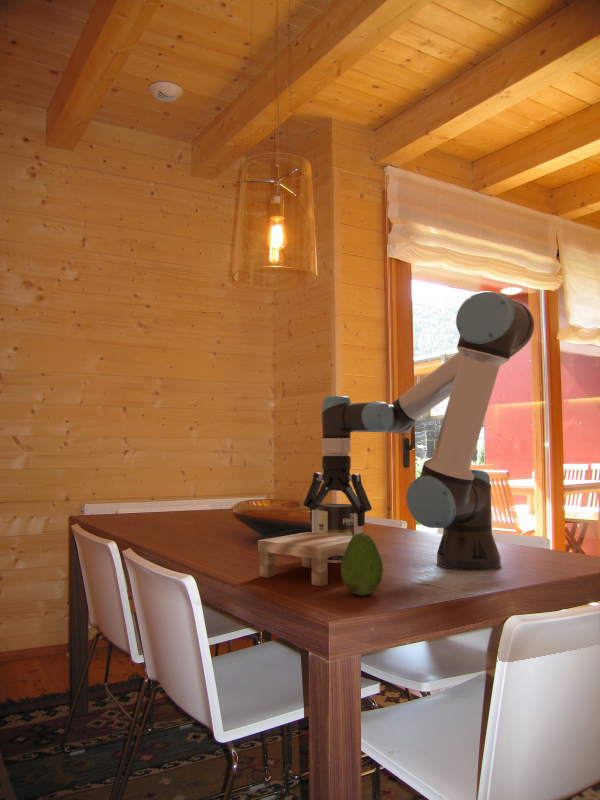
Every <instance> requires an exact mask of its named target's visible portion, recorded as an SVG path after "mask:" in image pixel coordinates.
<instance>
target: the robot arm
mask: <svg viewBox="0 0 600 800" xmlns="http://www.w3.org/2000/svg"><path fill="white" fill-rule="evenodd" d="M455 326H456V329H457V331H458V334H459V337H458V341H457V345H456V349H457V350H458V352H456V353H455V354H454V355H453V356H452V357H450V358H448V360H446V361H445V362H444V363H442V364H441V365H439V366H438V367H437V368H436V369H435V370H433V371H432V372H431V373H429V374H428V375H426V377H424V378H423V379H422V380H420V381H419V382H417V383H416V384H415V385H413V386H412V387H410V388H409V390H407V391H406V392H405V393H403V394H402V395H400V396H399V397H398V398H397V399H395V400H394V401H393V402H391V403H390V404H389V403H387V402H385V401H368V402H356V403H353V402H351V398H350V397H349V396H347V395H331V396H330V395H329V396H325V397H324V398H323V400H322V407H321V408H322V409H321V423H322V424H321V425H322V439H321V453H322V454H324V455H323V456H322V458H321V468H322V470H323V473H322V472H320V471H319V472H314V473H313V474H312V482H311V484H310V486H309V489H308V491H307V493H306V494H307V495H306V496H305V499H304V502H303V506H304V507H307V508H308V509H309V520H310V522H311V532H312V533H318V505H322V502H323V501H324V500H325V498H326V496H328V494H329V492H331V491H335V492H336V491H338V492H342V493H343V494H344V496H345V497H346V498H347V500H348V501H349V504H352V506H353V507H354V509H355V510H356V513H354V535H356V534H358V533H363V527H364V526H365V525H366V521H365V519H366V516H365V515H366V513H367V512H369V511H372V506H371V505H372V504H371V502H370V500H369V497H368V496H367V493H366V491H365V489H364V486H363V483H362V476H361V474H360V473H353V474H351V469H352V466H351V465H352V464H351V463H352V462H351V461H352V459H351V458H352V457H351V455H349V454H351V445H352V444H351V435H352V433H354V432H355V433H356V432H357V433H387V434H388V433H391V434H403V433H407V432H409V431H411V430H412V429H413V428H414V426H415V424H416V421H417V420H418V419H420V418H421V417H422V416H424V415H425V414H426V413H428V412H430V411H431V410H432V409H434V408H435V407H436V406H438V405H440V404H441V403H442V402H444V400H446V399H447V398H448V402H447V405H446V409H445V413H444V416H443V419H442V423H441V425H440V426H441V427H440V430H439V434H438V436H437V440H436V443H435V448H434V450H433V454H432V457H431V458H429V459H427V460H425V461H424V462H423V465H422V468H421V472H420V475H419V476H418V477H417V478H415V479H414V480H413V481H411V483H410V484H409V486H408V488H407V489H406V497H405V498H406V499H405V500H406V507H407V508H408V510H409V513H410V515H411V516H412V518H413V519H414V521H416V522H417V523H419V524H420V525H422V526H424V527H425V528H426V527H427V528H431V529H442V536H441V540H440V542H439V544H438V545H439V546H438V548H437V553H436V564H437V565H438V566H441V567H443V568H448V569H454V570H455V569H456V570H467V571H484V570H487V571H488V570H493V569H499V568H500V567H502V561H501V554H500V552H499V550H498V547H497V543H496V541H495V538H494V535H493V527H492V524H493V521H492V484H491V480H490V478H491V477H490V474H489V473H488V472H486V471H484V470H479V469H471V465H472V462H473V457H474V456H475V451H476V448H477V444H478V440H479V437H480V434H481V432H482V431H481V430H482V427H483V425H484V421H485V416H486V413H487V410H488V407H489V404H490V400H491V397H492V394H493V391H494V387H495V384H496V380H497V377H498V373H499V370H500V367H501V366H502V365H504V364H505V363H507V362H509V361H510V358H512V357H513V356H515V355H516V354H518V352H520V351H521V350H522V349H523V348H525V347H526V345H528V343H529V342H530V340H531V339H532V336H533V334H534V330H535V320H534V317H533V314H532V313H531V311H530V309H528V307H526V306H525V305H524V304H522V303H520V302H518V301H516V300H514V299H512V298H510V297H509V296H507V295H506V294H503V293H500V292H495V291H489V290H485V291H480V292H476V293H474V294H472V295H471V296H469V297H467V299H465V300H464V301H463V303H462V304H461V305H460V306H459V309H458V311H457V314H456V319H455ZM322 481H323V484H322ZM350 482H351V483H352V485H351V484H350ZM321 484H322V485H321ZM320 486H321V487H320Z"/></svg>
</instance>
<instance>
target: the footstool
mask: <svg viewBox="0 0 600 800" xmlns="http://www.w3.org/2000/svg"><path fill="white" fill-rule="evenodd" d="M352 537H353V536H344V535H333V534H323V533H312V531H311V532H310V531H306V532H299V533H295V534H289V535H283V536H282V535H281V536H276V537H270V538H265V539H259V540H257V551H258V552H259V577H262V578H263V577H264V578H271V577H275V575H276V569H275V568H276V554H277V555H278V554H279V555H284V556H285V555H286V556H293V557H294V556H295V557H301V567H303V568H304V567H305V568H311V585H313V586H318V587H323V586H326V585H327V586H328V583H329V581H328V563H327V558H328V557H332V556H337V555H341V554H345V551H346V549H347V547H348V544H349V542H350V540H351V539H352Z"/></svg>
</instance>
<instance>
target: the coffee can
mask: <svg viewBox="0 0 600 800" xmlns="http://www.w3.org/2000/svg"><path fill="white" fill-rule="evenodd" d="M354 513H356V510H355V509H354V507H353V506H352V504H351V503H324V504H322V503H321V504H320V505H318V533H323V534H333V535H344V536H354ZM343 556H344V554H341V555H337V556H332V557H328V558H327V564H328V563H329V564H342V560H343Z"/></svg>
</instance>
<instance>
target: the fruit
mask: <svg viewBox="0 0 600 800" xmlns="http://www.w3.org/2000/svg"><path fill="white" fill-rule="evenodd" d="M340 564H341V565H340V566H341V567H340V574H341V579H342V582H343V584H344V585H345V587H346V588H347V590H348V591H349V592H351V593H352V594H353V595H356V596H358V597H359V596H368V595H370V594H371V593H373V592H374V591H376V590H377V588H378V587H379V585H380V584H381V583H382V579H383V572H384V567H383V565H384V564H383V560H382V558H381V555H380V552H379V550H378V548H377V545H376V543H375V541H374V540H373V539H372V537H371V536H370V535H369V534H366V533H364V532H362V533H358V534H356V535H354V536H353V537H352V539H351V540H350V542H349V544H348V547H347V549H346V551H345V554H344V556H343V560H342V563H340Z"/></svg>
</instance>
